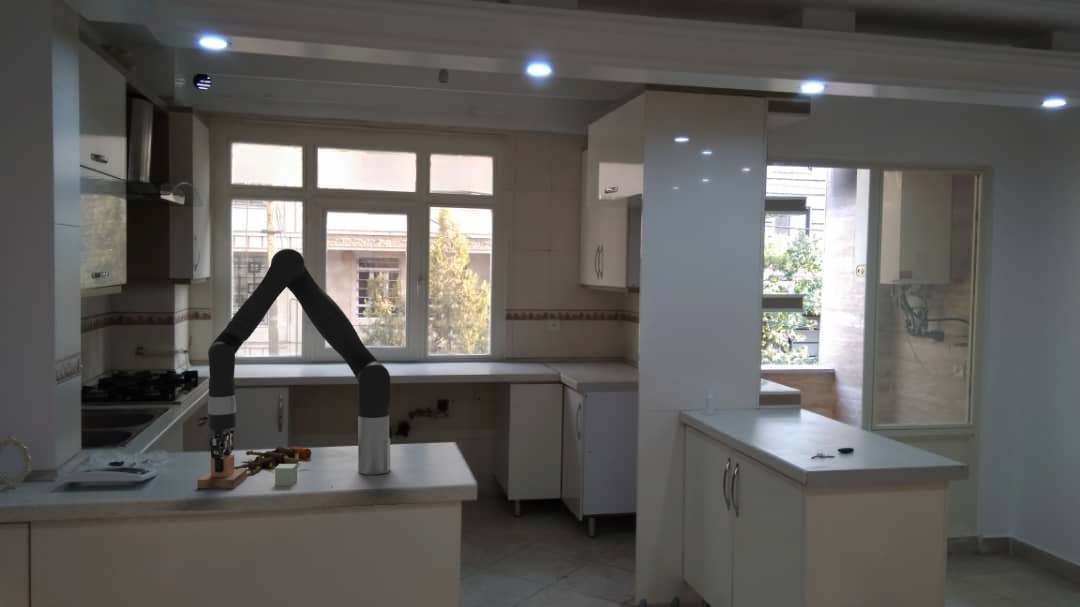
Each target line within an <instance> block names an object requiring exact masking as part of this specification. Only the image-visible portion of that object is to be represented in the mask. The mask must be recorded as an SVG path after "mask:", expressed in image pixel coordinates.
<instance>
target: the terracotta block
mask: <svg viewBox="0 0 1080 607" xmlns="http://www.w3.org/2000/svg"><path fill="white" fill-rule="evenodd" d="M234 467H235V454H234V455H233V454H230V455H224V458H223V472H221V473H216V472H215V459H212V458H210V471H211V477H229V476H230V475H231V474H233V473H234Z"/></svg>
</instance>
